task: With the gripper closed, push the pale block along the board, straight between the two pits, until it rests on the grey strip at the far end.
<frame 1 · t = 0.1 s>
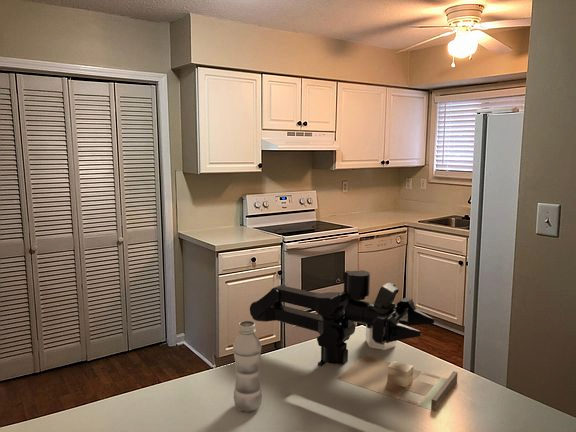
hand: (427, 327, 112), 17 cm above the countertop, tool horizontal, fingers open, 9 cm apart
block: (400, 381, 117), point 1 cm above the countertop, touching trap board
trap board: (396, 385, 117), on the countertop
plastic bottle: (248, 408, 108), on the countertop
jar: (380, 348, 139), on the countertop
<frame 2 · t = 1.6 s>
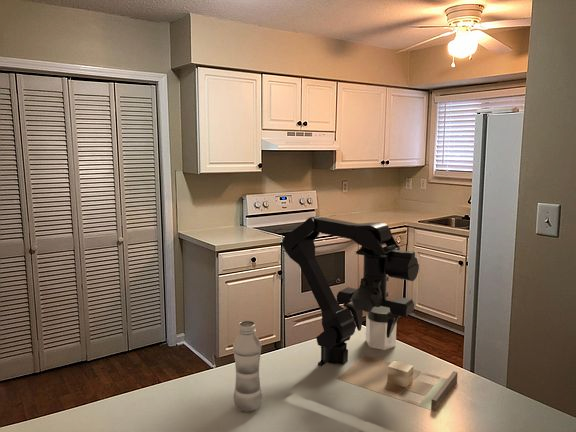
hand: (373, 333, 119), 12 cm above the countertop, tool pointing down, fingers open, 8 cm apart
nothing on the countertop moved.
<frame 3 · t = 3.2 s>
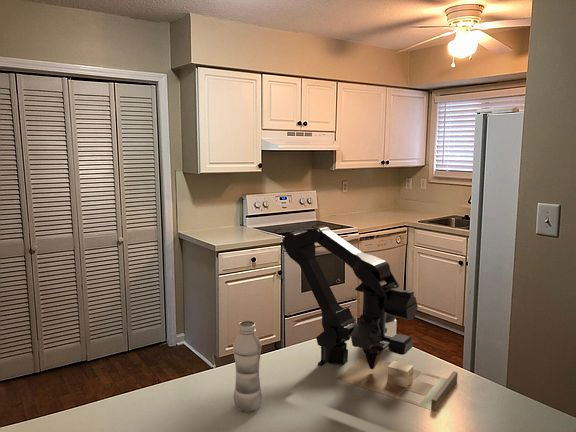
hand: (372, 368, 121), 3 cm above the countertop, tool pointing down, fingers closed
nothing on the countertop moved.
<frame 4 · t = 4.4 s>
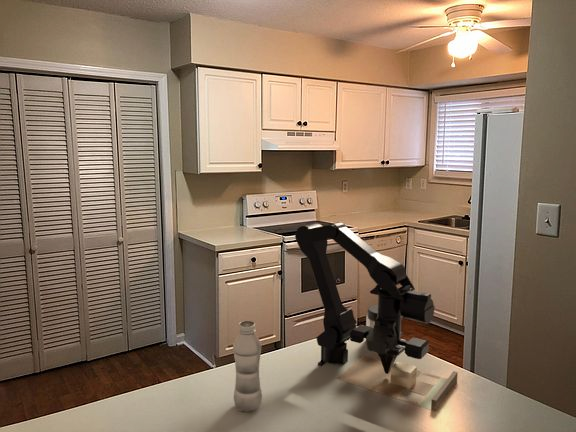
hand: (387, 373, 118), 3 cm above the countertop, tool pointing down, fingers closed
block: (403, 382, 116), point 2 cm above the countertop, touching gripper, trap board
everything else where it was.
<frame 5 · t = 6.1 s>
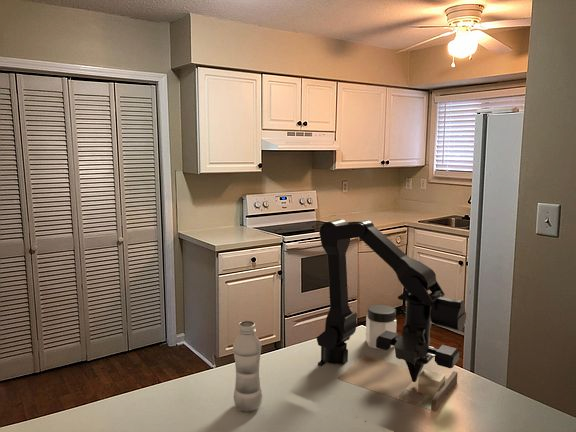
hand: (414, 381, 114), 3 cm above the countertop, tool pointing down, fingers closed
block: (431, 391, 112), point 1 cm above the countertop, touching gripper, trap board
everything else where it was.
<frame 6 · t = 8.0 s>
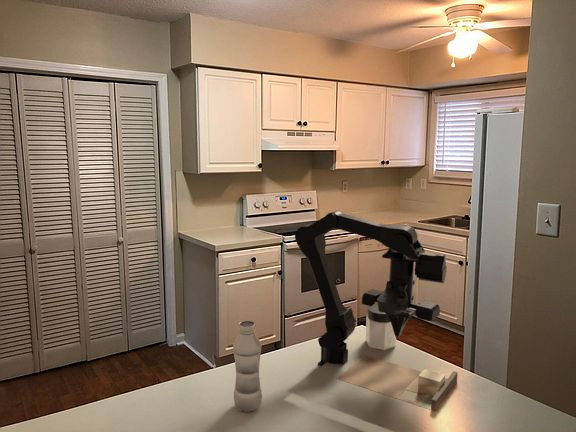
hand: (397, 336, 119), 11 cm above the countertop, tool pointing down, fingers closed
block: (431, 391, 112), point 1 cm above the countertop, touching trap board
everything else where it was.
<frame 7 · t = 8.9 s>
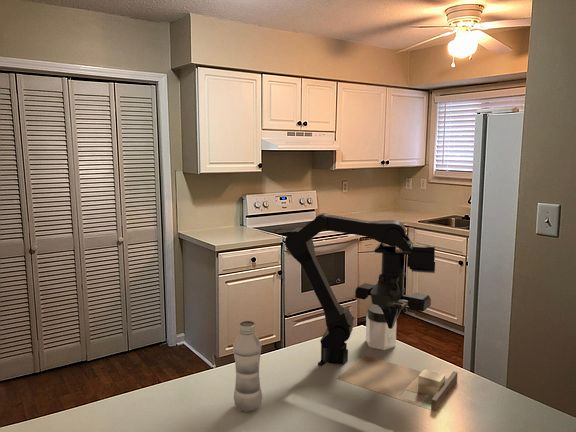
hand: (390, 328, 123), 12 cm above the countertop, tool pointing down, fingers closed
nothing on the countertop moved.
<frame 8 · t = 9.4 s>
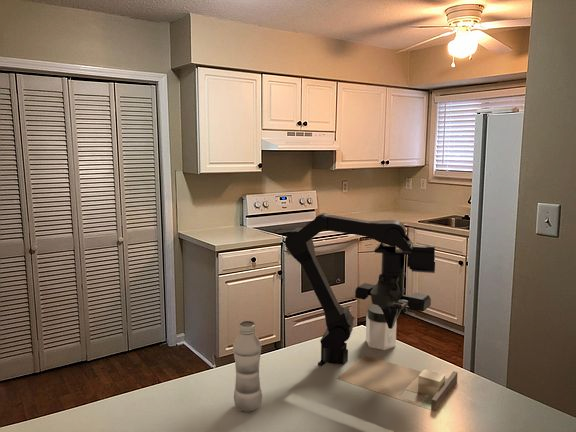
hand: (390, 328, 123), 12 cm above the countertop, tool pointing down, fingers closed
nothing on the countertop moved.
at the end: block 0.1 cm from the target spot on the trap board, point 1.5 cm above the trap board's base; block tilted 0° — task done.
